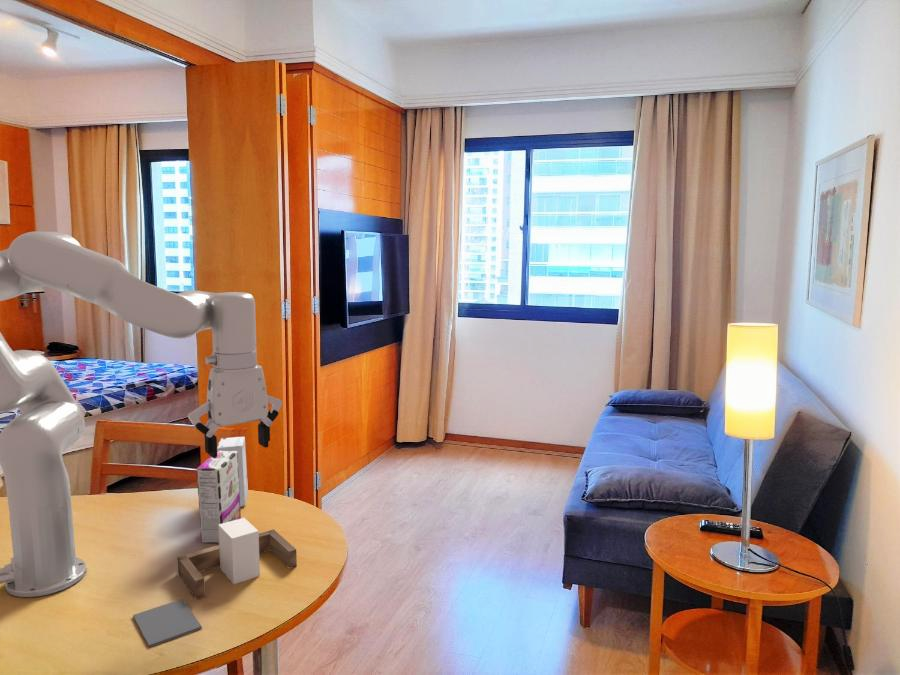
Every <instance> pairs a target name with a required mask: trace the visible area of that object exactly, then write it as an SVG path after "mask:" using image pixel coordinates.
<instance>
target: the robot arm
mask: <svg viewBox="0 0 900 675" xmlns="http://www.w3.org/2000/svg"><path fill="white" fill-rule="evenodd" d="M45 287H47V288H49V289H53V290H55V291H58V292H61V293H64V294H66V295H70V296H72V297H74V298H78V299H80V300H83V301H85V302H88V303H91V304H94V305H96V306H99V307H101V308H102V309H103V310H105V311H106V312H108V313H110V314H112V315H113V316H115V317H117V318H118V319H121V320H122V321H124V322H126V323H129V324H131V325H133V326H136V327H138V328H141V329H143V330H144V329H145V330H147V331H150V332H153V333H156V334H158V335H161V336H165V337H168V338H171V339H183V340H184V339H187V338H191V337H192V336H195V335H196V334H198V333H200V332H202V331H205V330H211V332H212V333H211V334H212V335H211V336H212V352H211V355H210V356H205V358H204V359H205V360H204V361H205V365H207V366H208V365H211V366H212V368H210V369H209V370H210V371H209V375H208V380H207V388H206V402H204V403H203V404H201V405H200V406H198V407H196V408H195V409H193V410H191V411H190V412H189V413H188V414H187V417H188V419H189V421H190V422H191V424H192V425H193V427H194V428H195V429H196V430H198V431H199V432H201V433H202V434H203V435H204V451H205V453H206V454H207V455H208V456H210V457H212V458H216V457H217V447H218V439H217V436H216V435H215V433H216V432H217V430H218V429H219V428H220V427H227V426H228V427H229V426H234V425H239V424H240V425H241V424H245V423H251V422H257V421H259V423H258V425H257V435H258V437H257V438H258V439H257V440H258V444H259V445H260V446H262V447H263V448H269V442H270V441H271V429H270V428H271V426H273V422H274V420H275V419H277V417H278V416H279V412H280V410H281V408H282V405H283V402H284V401H283V400H282V399H279V398H276V397H274V396H271V395H268V391H267V386H266V379H265V374H264V370H263V367H262V365H259V364H258V354H257V352H258V350H257V349H258V347H257V326H256V325H257V322H256V320H257V319H256V300H255V298H254V296H253V295H252V294H251V293H248V292H241V291H240V292H239V291H231V292H230V291H228V292H210V291H202V290H194V289H190V290H185V291H181V292H178V293H177V292H173V291H170V290H167V289H164V288H162V287H159V286H156V285H154V284H151V283H149V282H146V281H145V280H143V279H140V278H138V277H137V276H135V275H133V274H132V273H131V272H129V270H128V269H127V268H126V266H125V265H124V263H122V261H120V260H118V259H117V258H113V257H110V256H108V255H105V254H103V253H100V252H97V251H95V250H91V249H89V248H86V247H83V246H82V245H81V244H80V242H78V240H77V239H76V238H74V237H73V236H71V235H70V234H67V233H64V232H61V231H54V230H53V231H49V230H48V231H38V230H35V231H29V232H26V233H23V234H20V235H19V236H17V237H16V238H15V239H13V241H12V242H11V243H10V244H9V247H8V248H5V249H4V250H3V249H2V250H0V302H3V301H6V300H10V299H13V298H17V297H18V296H22V295H24V294H28V293H29V292H33V291H35V290H38V289H41V288H45ZM269 404H271V407H270V409H269ZM16 409H18V410H19V411H20V413H21V414H20V415H18V416H16V417H15V418H13V419H11V421H9V422H8V423H7V424H6V425H5V426H4V427H3V428H2V430H1V432H0V467H1V470H2V474H3V477H4V482H5V489H6V496H7V498H6V499H7V506H8V513H9V523H10V524H9V525H10V534H11V535H10V536H11V543H12V555H13V557H11V558H10V563H9V564H5V565H4V567H0V585H1V584H4V583H5V590H6V592H7V593H8V594H10V595H12V596H14V597H20V598H35V597H42V596H46V595H50V594H55V593H58V592H59V591H62V590H65V589H67V588H69V587H71V586H74V585H75V584H77V583H78V582H79V581H81V579H82V578H83V577H84V576H85V575H86V573H87V564H86V562H85V560H83V559H81V558H79V557H77V556H76V554H77V553H76V544H75V532H74V519H73V506H72V495H71V484H70V477H69V473H68V471H67V468H66V465H65V463H64V459H63V453H64V452H65V451H67V449H69V448H70V447H71V446H73V445H74V444H75V443H76V442H77V441H79V440H80V438H81V436H82V435H83V433H84V431H85V427H86V426H85V422H86V421H85V420H86V419H85V416H84V414H83V411H82V409H81V407H80V405H79V404H78V402H77V401H76V398H75V397H74V396H73V394H72V392H71V391H70V389H69V387H68V385H67V384H66V382H65V381H64V380H63V378H62V376H61V375H60V373H59V371H58V370H57V368H56V367H55V365H54V364H53V363H52V362H51V361H50V359H48V358H47V357H46V356H44V355H42V354H41V353H39V352H36V351H34V350H27V349H20V350H19V349H18V350H13V349H12V348H11V347H10V346H9V344H8V342H7V341H6V339H5V337H4V336H3V334H2V333H1V331H0V414H3V413H7V412H11V411H13V410H16ZM205 414H206V416H207V419H208V420H207V421H206V423H205V424H203V423H202V422H201V419H200V417H202V416H203V415H205Z"/></svg>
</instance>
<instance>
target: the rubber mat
mask: <svg viewBox="0 0 900 675" xmlns="http://www.w3.org/2000/svg"><path fill="white" fill-rule="evenodd" d="M132 618H133V620H134V621H135V623H136V625H137V627H138V629H139V630H140V633H141V635H142V637H143V638H144V640H145V642H146V644H147V646H148V648H151V647H154V646H157V645H160V644H162V643H166V642H168V641H171V640H173V639H177V638H179V637H182V636H185V635H188V634H190V633H193V632H196V631H199V630H202V629H203V628H202V625H201V623H200V621H199V620H198V619H197V617H196V616H195V614H194V613H193V612H192V610H191V609H190V607H189V606H188V604H187V603H186V602H185V600H184V598H180V599H178V600H175V601H171V602H169V603H165V604H161V605H160V606H159V605H158V606H155V607H153V608H150V609H148V610H144V611H141V612H137V613H135V614H132Z"/></svg>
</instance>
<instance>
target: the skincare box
mask: <svg viewBox="0 0 900 675" xmlns="http://www.w3.org/2000/svg"><path fill="white" fill-rule="evenodd" d="M219 450H223V451H238V452H237V455H238V473H239V494H240V508H244V507H246V505H247V504H246V502H247V498H248V496H249V488H248V487H249V486H248V483H249V482H248V471H247V470H248V469H247V454H246V437H245V436H233V437H224V438H223V437H222V438H220V440H219V442H217V451H219ZM247 491H248V492H247Z"/></svg>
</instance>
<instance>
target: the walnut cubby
mask: <svg viewBox="0 0 900 675" xmlns="http://www.w3.org/2000/svg"><path fill="white" fill-rule="evenodd" d="M268 550H269V551H270V550H271V551H270V552H271V553H273V554H274V556H276V557H277V558H278V559H279V560H280V561H281V562H282V563H283V564H284V565H285V566H286V567H287V566H288V567H289V568H290V569H292V568H295V567H294V566H296V567H297V563H298V562H297V556H298V555H297V548H295V547H294V546H293V545H292V544H291V543H290V542H288V541H287V540H286V538H284V537H283V536H282V535H281V534H279V533H278V531H276V530H275V529H270V530H266V531H263V532H261V533H259V553H260V554H262V552H263V553H265V551H266V552H269V551H268ZM176 559H177V574H178V576H179V577H180V579H181V580H182V581H183V583H184V584H185V585H186V588H188V590H189V591H190V593H191V594H192V596H193V597H194V598H195V600H199V599H202V598H206V591H205V590H206V588H205V587H206V586H205V578H204V576H203V575H202V574H201V572H204V571H206V570H210V569H209V568H211V569H214V568H217V567H220V551H219V544H218V545H214V546H211V547H207V548H204V549H203V548H202V549H200V550H197V551H193V552H190V553H187V554H184V555H183V554H182V555H179V556H177V558H176ZM213 567H214V568H213ZM288 567H287V568H288ZM289 568H288V569H289ZM203 570H204V571H203Z"/></svg>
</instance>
